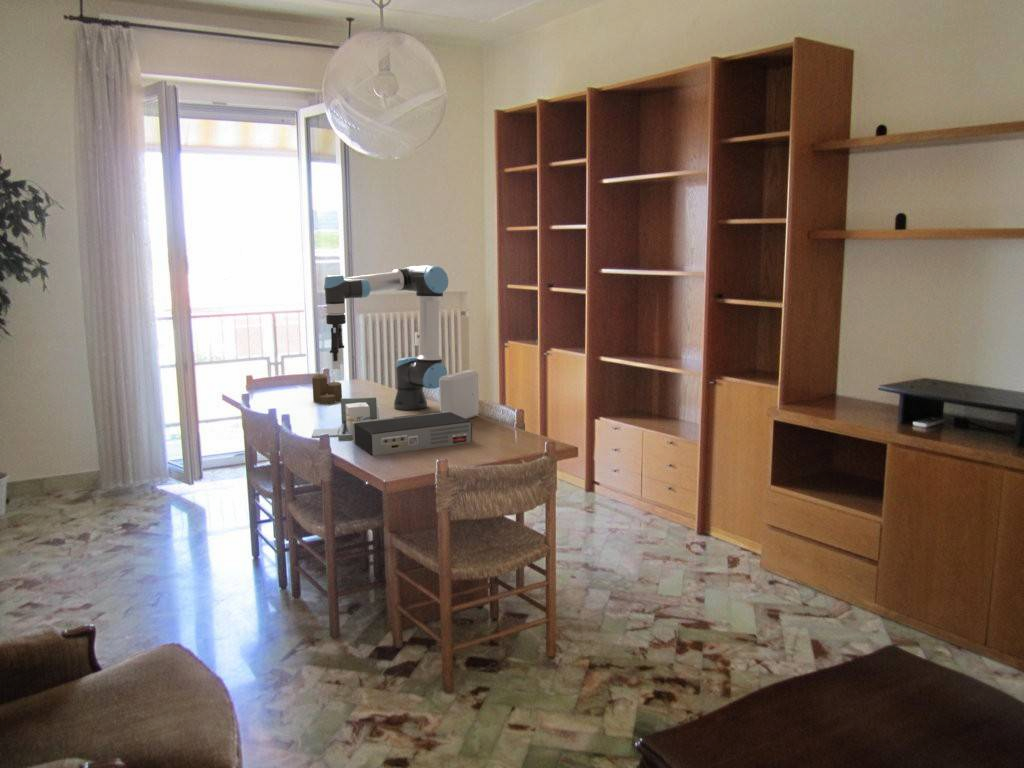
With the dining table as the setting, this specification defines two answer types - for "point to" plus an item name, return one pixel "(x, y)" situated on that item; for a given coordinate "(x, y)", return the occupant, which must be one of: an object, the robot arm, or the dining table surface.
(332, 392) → the brown stepped block
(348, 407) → the ink box
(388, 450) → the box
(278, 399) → the dining table surface
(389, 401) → the dining table surface
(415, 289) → the robot arm
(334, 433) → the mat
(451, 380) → the white upright slab
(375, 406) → the grey angled piece
